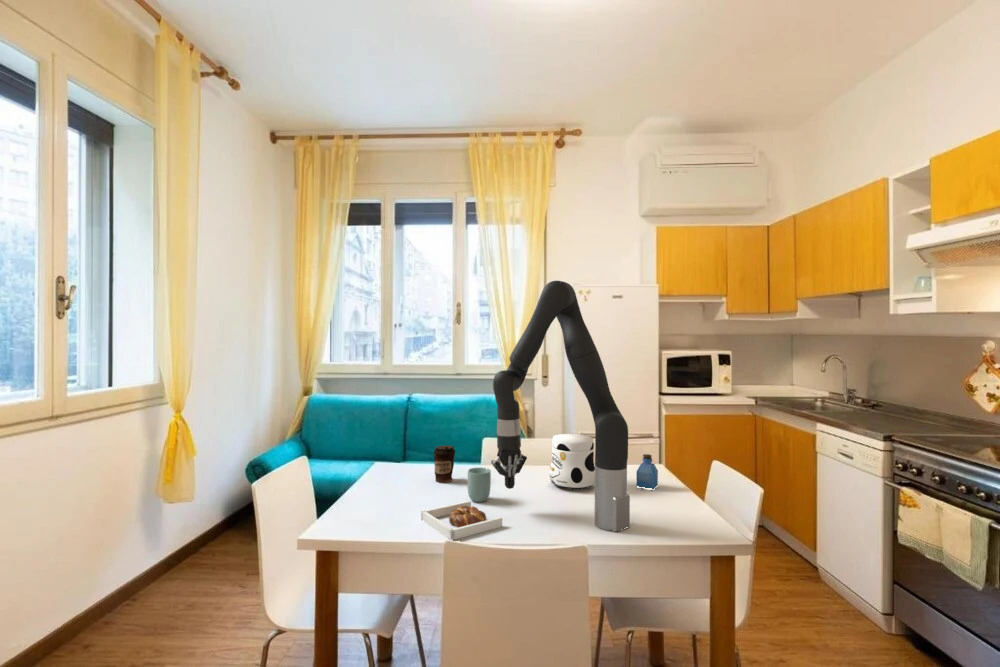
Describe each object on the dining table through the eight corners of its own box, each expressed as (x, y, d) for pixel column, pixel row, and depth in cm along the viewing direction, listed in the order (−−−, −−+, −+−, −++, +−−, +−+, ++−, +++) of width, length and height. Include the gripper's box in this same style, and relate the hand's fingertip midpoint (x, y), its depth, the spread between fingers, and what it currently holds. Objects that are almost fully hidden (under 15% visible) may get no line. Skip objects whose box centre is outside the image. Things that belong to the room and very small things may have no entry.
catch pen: (502, 526, 136) (502, 517, 136) (451, 540, 126) (451, 531, 126) (469, 508, 150) (469, 500, 150) (421, 519, 140) (421, 511, 140)
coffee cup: (453, 484, 176) (454, 449, 176) (431, 484, 176) (432, 449, 176) (456, 477, 184) (456, 444, 185) (435, 477, 184) (435, 444, 185)
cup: (487, 504, 154) (487, 474, 154) (464, 503, 155) (465, 472, 156) (492, 497, 161) (493, 468, 162) (470, 495, 163) (471, 466, 163)
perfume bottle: (657, 486, 176) (657, 454, 176) (653, 491, 171) (653, 458, 171) (641, 484, 179) (641, 452, 179) (636, 488, 174) (636, 455, 174)
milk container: (539, 485, 175) (540, 437, 176) (566, 476, 188) (567, 431, 188) (579, 496, 163) (579, 444, 164) (604, 485, 176) (605, 437, 177)
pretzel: (442, 518, 142) (442, 506, 143) (475, 513, 147) (475, 501, 147) (456, 532, 132) (456, 519, 132) (491, 526, 137) (491, 513, 137)
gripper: (498, 437, 142) (499, 495, 141) (532, 432, 150) (533, 486, 149) (484, 433, 148) (485, 489, 148) (518, 428, 156) (519, 481, 155)
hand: (509, 487), depth 148 cm, fingers closed
